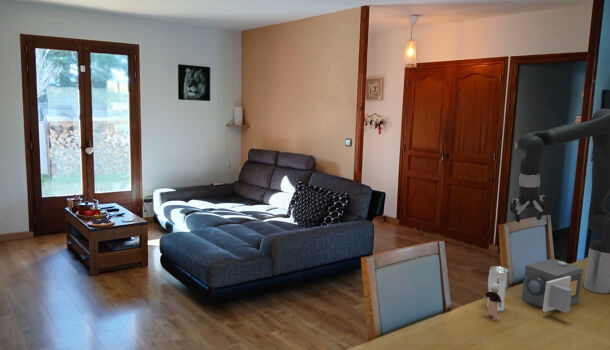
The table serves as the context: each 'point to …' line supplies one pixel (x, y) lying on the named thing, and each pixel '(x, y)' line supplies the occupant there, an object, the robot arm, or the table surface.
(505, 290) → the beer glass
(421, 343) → the table surface
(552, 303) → the side door
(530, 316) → the table surface
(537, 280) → the box
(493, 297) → the grandmother figurine
